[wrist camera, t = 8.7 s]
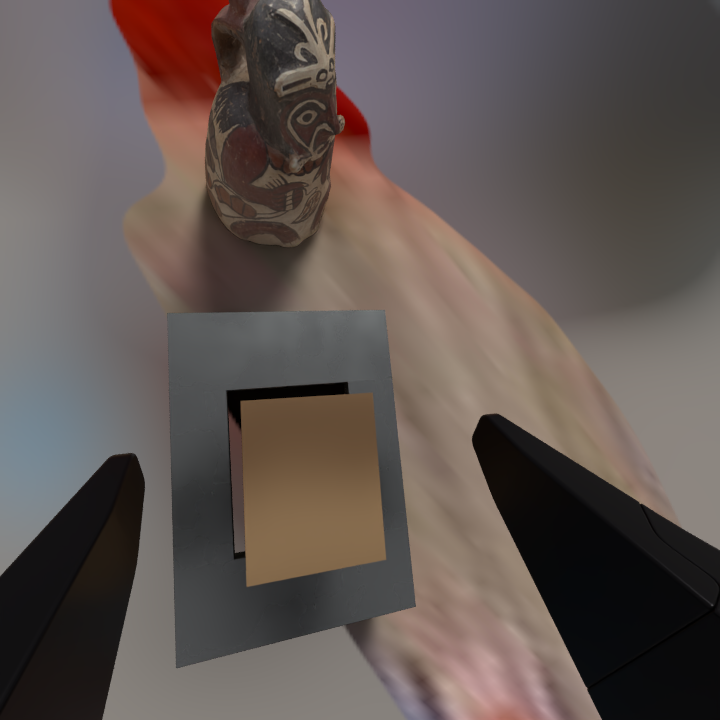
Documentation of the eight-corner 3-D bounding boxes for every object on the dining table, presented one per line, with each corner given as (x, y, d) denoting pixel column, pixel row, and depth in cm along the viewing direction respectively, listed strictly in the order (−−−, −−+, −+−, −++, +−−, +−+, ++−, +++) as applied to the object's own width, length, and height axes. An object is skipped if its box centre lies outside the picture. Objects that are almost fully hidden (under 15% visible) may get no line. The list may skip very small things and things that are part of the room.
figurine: (264, 271, 23) (275, 122, 11) (181, 181, 22) (106, -70, 11) (347, 208, 25) (425, 30, 14) (273, 124, 24) (290, -135, 13)
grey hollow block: (380, 566, 22) (415, 606, 17) (195, 606, 19) (175, 668, 14) (358, 332, 24) (384, 310, 19) (186, 337, 21) (167, 313, 16)
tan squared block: (322, 492, 22) (386, 559, 11) (250, 501, 21) (246, 586, 10) (317, 405, 22) (372, 392, 12) (246, 410, 21) (240, 400, 11)
